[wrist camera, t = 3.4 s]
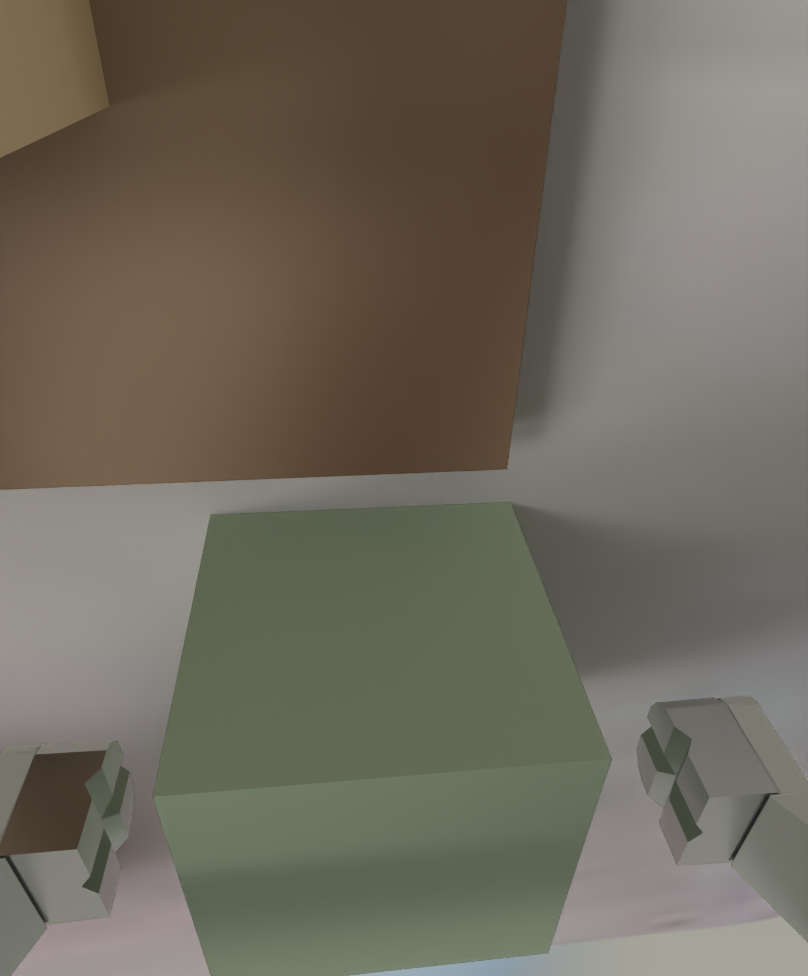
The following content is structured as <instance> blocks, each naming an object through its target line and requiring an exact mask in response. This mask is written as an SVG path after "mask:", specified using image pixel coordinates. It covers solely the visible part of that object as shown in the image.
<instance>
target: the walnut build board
mask: <svg viewBox="0 0 808 976" xmlns="http://www.w3.org/2000/svg"><path fill="white" fill-rule="evenodd" d="M566 1H567V0H0V490H3V489H28V488H53V487H78V486H103V485H128V484H153V483H178V482H202V481H227V480H252V479H277V478H302V477H327V476H352V475H377V474H401V473H426V472H451V471H476V470H501V469H507V466H508V458H509V450H510V443H511V435H512V427H513V419H514V411H515V403H516V395H517V387H518V379H519V372H520V364H521V356H522V348H523V340H524V332H525V324H526V316H527V308H528V301H529V293H530V285H531V277H532V269H533V261H534V253H535V245H536V237H537V230H538V222H539V214H540V206H541V198H542V190H543V182H544V174H545V166H546V159H547V151H548V143H549V135H550V127H551V119H552V111H553V103H554V95H555V88H556V80H557V72H558V64H559V56H560V48H561V40H562V32H563V24H564V17H565V9H566Z"/></svg>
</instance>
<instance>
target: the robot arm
mask: <svg viewBox="0 0 808 976" xmlns="http://www.w3.org/2000/svg"><path fill="white" fill-rule="evenodd" d="M647 718H648V720H649V722H650V724H651V726H652V727H650V728H649V729H648V730H647V731H645V732H644V733H643V734H641V737H640V740H639V744H638V747H637V756H638V768H639V772H640V776H641V780H642V782H643V785H644V787H645V790H646V792H647V795H648V796H649V797H650V798H652V799H653V800H654V801H655V802H656V803H657V804H659V805H660V806H661V807H662V808H663V810H662V814H661V817H660V821H659V824H660V826H661V829H662V831H663V834H664V836H665V838H666V841H667V843H668V845H669V848H670V850H671V853H672V855H673V857H674V860H675V862H676V864H677V866H680V865H696V864H712V863H729V862H732V864H731V866H732V867H733V868H734V869H735V870H736V871H737V872H738V873H739V874H740V875H741V876H742V877H743V878H744V879H745V880H746V881H747V882H748V883H749V884H750V885H751V886H752V887H753V888H754V889H755V890H756V891H757V892H758V893H759V894H760V895H761V896H762V897H763V898H764V899H765V900H766V901H767V902H768V903H769V904H770V905H771V906H772V907H773V908H774V909H775V910H776V911H777V912H778V913H779V914H780V915H781V916H782V917H783V918H784V919H785V920H786V921H787V922H788V923H789V924H790V925H791V926H792V927H793V928H794V929H795V930H796V931H797V932H798V933H799V934H800V935H801V936H802V937H803V938H804V939H805V940H806V941H807V942H808V781H807V779H806V777H805V776H804V774H803V773H802V771H801V770H800V768H799V766H798V765H797V763H796V762H795V760H794V759H793V757H792V756H791V754H790V752H789V751H788V749H787V748H786V746H785V745H784V743H783V741H782V740H781V738H780V737H779V735H778V734H777V732H776V730H775V729H774V727H773V726H772V724H771V723H770V721H769V719H768V718H767V716H766V715H765V713H764V712H763V710H762V708H761V707H760V705H759V704H758V702H757V701H755V700H754V699H753V698H752V697H750V696H738V697H728V698H717V699H716V698H702V699H691V700H679V701H667V702H657V703H655V704H654V705H653V706H651V708H650V711H649V714H648V716H647ZM122 757H123V752H122V749H121V747H120V745H119V742H118V740H115V741H97V742H78V743H59V744H36V745H21V746H6V748H5V749H4V750H3V751H2V752H1V754H0V976H11V975H12V973H13V972H14V971H15V969H16V968H17V967H18V965H19V964H20V963H21V962H22V960H23V959H24V958H25V956H26V955H27V954H28V952H29V951H30V950H31V949H32V947H33V946H34V945H35V943H36V942H37V941H38V939H39V938H40V937H41V936H42V934H43V933H44V932H45V930H46V929H47V927H46V924H54V923H63V922H71V921H80V920H88V919H97V918H105V917H110V913H111V909H112V905H113V901H114V896H115V892H116V888H117V884H118V880H119V876H120V872H121V866H120V864H119V861H118V859H117V856H116V854H115V852H116V851H117V849H118V848H119V847H120V846H121V845H122V844H123V843H124V842H125V841H126V840H127V838H128V837H129V833H130V829H131V824H132V820H133V812H134V798H135V795H134V786H133V780H132V777H131V774H130V772H129V771H127V770H126V769H124V768H122V767H121V766H120V765H121V761H122Z"/></svg>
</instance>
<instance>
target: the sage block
mask: <svg viewBox="0 0 808 976" xmlns="http://www.w3.org/2000/svg"><path fill="white" fill-rule="evenodd" d="M611 760H612V758H611V755H610V753H609V750H608V748H607V745H606V743H605V740H604V738H603V735H602V733H601V730H600V728H599V725H598V723H597V720H596V718H595V715H594V712H593V710H592V707H591V705H590V702H589V700H588V697H587V695H586V692H585V690H584V687H583V685H582V682H581V680H580V677H579V675H578V672H577V669H576V667H575V664H574V662H573V659H572V657H571V654H570V652H569V649H568V647H567V644H566V642H565V639H564V637H563V634H562V632H561V629H560V626H559V624H558V621H557V619H556V616H555V614H554V611H553V609H552V606H551V604H550V601H549V599H548V596H547V594H546V591H545V589H544V586H543V583H542V581H541V578H540V576H539V573H538V571H537V568H536V566H535V563H534V561H533V558H532V556H531V553H530V551H529V548H528V546H527V543H526V540H525V538H524V535H523V533H522V530H521V528H520V525H519V523H518V520H517V518H516V515H515V513H514V510H513V508H512V505H511V503H510V502H500V503H477V504H453V505H429V506H406V507H382V508H359V509H335V510H312V511H288V512H265V513H241V514H218V515H210V520H209V525H208V530H207V535H206V540H205V544H204V549H203V554H202V559H201V564H200V569H199V574H198V578H197V583H196V588H195V593H194V598H193V603H192V608H191V612H190V617H189V622H188V627H187V632H186V637H185V642H184V647H183V651H182V656H181V661H180V666H179V671H178V676H177V681H176V685H175V690H174V695H173V700H172V705H171V710H170V715H169V719H168V724H167V729H166V734H165V739H164V744H163V749H162V753H161V758H160V763H159V768H158V773H157V778H156V783H155V787H154V792H153V800H154V803H155V806H156V809H157V812H158V815H159V818H160V821H161V825H162V828H163V831H164V834H165V837H166V840H167V843H168V846H169V849H170V852H171V855H172V858H173V861H174V864H175V867H176V871H177V874H178V877H179V880H180V883H181V886H182V889H183V892H184V895H185V898H186V901H187V904H188V907H189V910H190V913H191V917H192V920H193V923H194V926H195V929H196V932H197V935H198V938H199V941H200V944H201V947H202V950H203V953H204V956H205V959H206V963H207V966H208V969H209V972H210V975H211V976H348V975H357V974H366V973H375V972H384V971H393V970H401V969H411V968H419V967H428V966H437V965H447V964H455V963H465V962H474V961H483V960H492V959H500V958H509V957H518V956H527V955H536V954H545V953H548V952H549V949H550V946H551V943H552V940H553V937H554V934H555V931H556V927H557V924H558V921H559V918H560V915H561V912H562V909H563V906H564V903H565V900H566V897H567V894H568V891H569V888H570V885H571V882H572V879H573V876H574V873H575V870H576V867H577V863H578V860H579V857H580V854H581V851H582V848H583V845H584V842H585V839H586V836H587V833H588V830H589V827H590V824H591V821H592V818H593V815H594V812H595V809H596V806H597V802H598V799H599V796H600V793H601V790H602V787H603V784H604V781H605V778H606V775H607V772H608V769H609V766H610V763H611Z"/></svg>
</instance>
